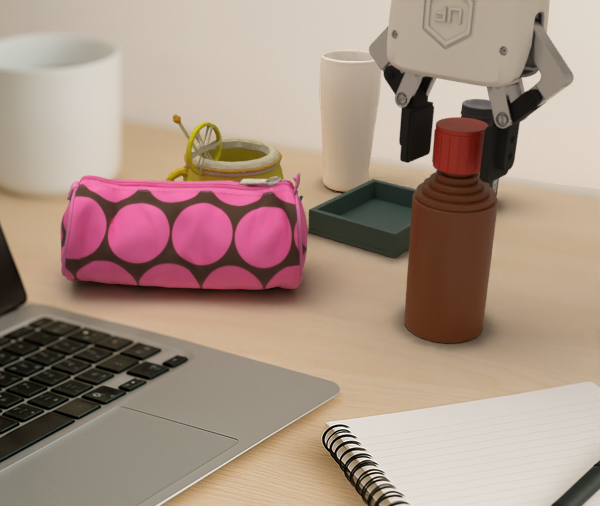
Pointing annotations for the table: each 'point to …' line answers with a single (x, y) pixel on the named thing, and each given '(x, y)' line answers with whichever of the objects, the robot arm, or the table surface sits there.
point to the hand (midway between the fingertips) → (453, 165)
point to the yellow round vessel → (226, 157)
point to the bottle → (449, 257)
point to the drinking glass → (348, 116)
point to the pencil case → (185, 233)
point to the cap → (458, 145)
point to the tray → (367, 217)
